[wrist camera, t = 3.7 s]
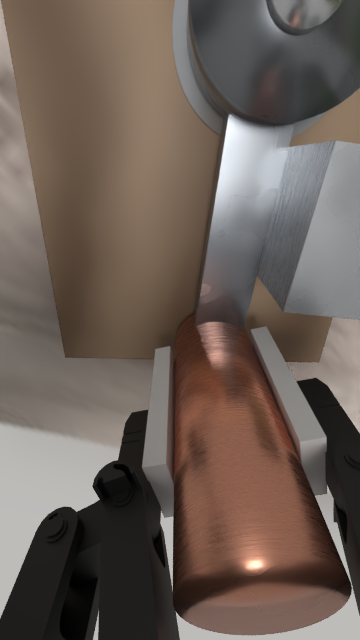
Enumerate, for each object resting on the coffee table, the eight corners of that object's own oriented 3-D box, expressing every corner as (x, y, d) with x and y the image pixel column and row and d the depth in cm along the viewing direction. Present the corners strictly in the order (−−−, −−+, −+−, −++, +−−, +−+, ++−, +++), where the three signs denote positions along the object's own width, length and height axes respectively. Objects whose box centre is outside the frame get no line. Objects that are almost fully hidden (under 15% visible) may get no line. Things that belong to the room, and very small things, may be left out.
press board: (73, 343, 19) (64, 359, 17) (2, -94, 10) (-27, -137, 9) (309, 348, 19) (320, 364, 18) (424, -72, 11) (464, -110, 9)
